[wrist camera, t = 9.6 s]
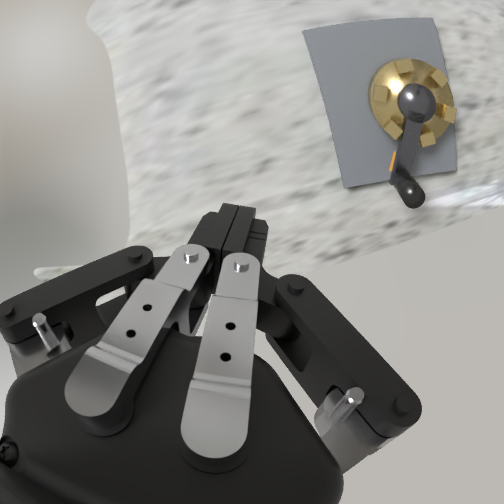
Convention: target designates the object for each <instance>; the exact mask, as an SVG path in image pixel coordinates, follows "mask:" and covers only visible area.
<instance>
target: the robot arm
mask: <svg viewBox="0 0 504 504" xmlns="http://www.w3.org/2000/svg"><path fill="white" fill-rule="evenodd" d="M255 213H256V208H252V207H246V206H240V207H239V205H233V204H227V203H223V204H222V206H221V208H220V210H219V212H218V213H217V212H209V213H207V214H206V215H204V216H203V217H202V219H201V221H200V222H199V224H198V226H197V228H196V229H195V231H194V233H193V235H192V236H191V238H190V240H189V242H188V244H186V245H182V246H180V247H178V248H177V249H176V250H175V251H174V252H173V254H172V255H171V256H169V257H153V253H152V251H151V250H150V249H149V248H147V247H145V246H131V247H128V248H125V249H123V250H121V251H118V252H116V253H113V254H111V255H108V256H106V257H103V258H101V259H98V260H96V261H94V262H91V263H89V264H87V265H84V266H82V267H79V268H77V269H75V270H72V271H70V272H68V273H65V274H63V275H61V276H58V277H56V278H54V279H52V280H49V281H47V282H45V283H43V284H40V285H38V286H36V287H34V288H32V289H29V290H27V291H25V292H23V293H21V294H19V295H16V296H14V297H12V298H10V299H8V300H6V301H4V302H3V303H1V304H0V332H1V334H2V335H3V338H4V340H5V341H6V343H7V344H8V345H9V348H10V352H11V356H12V360H13V364H14V368H15V371H16V374H17V379H16V380H15V381H14V383H13V384H12V386H11V387H10V389H9V391H8V394H7V397H6V404H5V422H4V428H3V434H2V437H1V439H0V504H338V503H339V501H340V499H341V496H342V493H343V485H344V481H343V474H344V473H345V472H346V471H348V470H349V469H350V468H352V467H353V466H355V465H356V464H357V463H359V462H360V461H361V460H363V459H364V458H365V457H366V456H368V455H371V454H373V453H375V452H376V451H378V450H379V449H381V448H382V447H383V446H385V445H386V444H388V443H389V442H390V441H392V440H393V439H395V438H396V437H398V436H399V435H400V434H402V433H403V432H404V431H406V430H407V429H408V428H410V427H411V426H412V425H413V424H415V423H416V422H417V421H418V420H419V418H420V416H421V412H422V405H421V402H420V399H419V398H418V396H417V395H416V393H415V392H414V391H413V390H412V389H411V388H410V387H409V386H408V385H407V384H406V383H405V381H404V380H403V379H402V378H401V377H400V376H399V375H398V374H397V373H396V372H395V371H394V370H393V368H392V367H391V366H390V365H389V364H388V363H387V362H386V361H385V360H384V359H383V357H382V356H381V355H380V354H379V353H378V352H377V351H376V350H375V349H374V348H373V347H372V346H371V345H370V344H369V342H368V341H367V340H366V339H365V338H364V337H363V336H362V335H361V334H360V333H359V332H358V331H357V330H356V329H355V328H354V326H353V325H352V324H351V323H350V322H349V321H348V320H347V319H346V318H345V317H344V316H343V315H342V314H341V313H340V312H339V311H338V310H337V308H335V306H334V305H333V304H332V303H331V302H330V301H329V300H328V299H327V298H326V297H325V296H324V295H323V294H322V293H321V292H320V291H319V290H318V289H317V288H316V287H315V286H314V285H313V284H312V282H311V281H309V280H308V279H307V278H305V277H303V276H300V275H295V274H288V275H284V276H282V277H280V278H279V279H278V278H275V277H273V276H271V275H270V274H268V273H267V272H266V271H265V270H264V268H263V267H262V263H263V258H264V252H265V246H266V240H267V234H268V228H269V227H268V225H267V223H266V221H265V220H260V219H255ZM123 286H124V288H125V294H123V295H121V296H119V297H116V298H114V299H112V300H110V301H108V302H106V303H103V304H101V305H99V306H96V301H97V300H98V299H99V298H100V297H101V296H103V295H105V294H108V293H110V292H112V291H114V290H116V289H119V288H121V287H123ZM211 294H215V295H212V298H211V302H210V306H209V311H208V315H207V319H206V323H205V328H204V332H203V336H202V337H201V336H200V337H199V336H195V335H196V333H197V331H198V328H199V326H200V324H201V322H202V320H203V318H204V315H205V313H206V311H207V309H208V301H209V299H210V297H211ZM256 329H258V330H261V331H263V332H265V333H266V334H265V335H266V339H267V341H268V342H269V343H270V345H271V346H272V348H273V349H274V350H275V352H276V353H277V354H278V355H279V357H280V359H281V360H282V361H283V363H284V364H285V365H286V367H287V368H288V369H289V371H290V372H291V373H292V375H293V376H294V377H295V379H296V380H297V381H298V383H299V384H300V385H301V387H302V388H303V389H304V391H305V392H306V393H307V395H308V396H309V397H310V399H311V400H312V401H313V403H314V404H315V405H316V406H317V408H318V409H317V411H316V413H315V416H314V423H315V426H316V428H317V430H318V432H319V434H320V436H319V435H318V433H317V432H316V431H315V429H314V428H313V426H312V425H311V423H310V422H309V421H308V419H307V418H306V416H305V415H304V413H303V412H302V410H301V409H300V407H299V406H298V404H297V403H296V402H295V400H294V399H293V397H292V396H291V394H290V393H289V391H288V390H287V388H286V387H285V385H284V384H283V382H282V381H281V379H280V378H279V376H278V375H277V373H276V372H275V370H274V369H273V368H272V367H271V366H270V365H269V364H268V363H267V362H266V361H264V360H263V359H262V358H260V357H259V356H257V355H255V354H254V344H255V331H256Z"/></svg>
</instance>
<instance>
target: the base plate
mask: <svg viewBox="0 0 504 504" xmlns="http://www.w3.org/2000/svg"><path fill="white" fill-rule="evenodd" d="M302 33H303V35H304V38H305V41H306V44H307V47H308V50H309V54H310V57H311V60H312V63H313V66H314V69H315V73H316V76H317V80H318V83H319V86H320V90H321V93H322V97H323V101H324V104H325V108H326V112H327V116H328V120H329V124H330V128H331V132H332V136H333V140H334V145H335V149H336V153H337V158H338V162H339V167H340V172H341V177H342V182H343V186H344V188H348V187H354V186H359V185H365V184H371V183H376V182H382V181H388V180H390V176H391V172H392V168H393V164H394V160H395V156H396V152H397V147H398V143H399V141H398V140H395V139H394V138H393V137H391V136H390V135H389V134H388V133H387V132H386V131H385V130H384V129H383V128H382V127H381V126H380V125H379V124H378V123H377V122H376V120H375V119H374V117H373V115H372V113H371V111H370V107H369V103H368V87H369V83H370V80H371V78H372V76H373V74H374V73H375V71H376V70H377V69H378V68H379V67H380V66H382V65H383V64H384V63H386V62H388V61H391V60H394V59H405V58H410V59H417V60H421V61H424V62H426V63H428V64H430V65H431V66H433V67H434V68H439V69H440V70H441V71H442V73H443V74H444V75H445V76H446V77H447V74H446V69H445V64H444V59H443V55H442V51H441V46H440V42H439V38H438V35H437V31H436V27H435V24H434V20H433V18H396V19H380V20H369V21H360V22H351V23H344V24H337V25H331V26H325V27H319V28H314V29H309V30H304V31H302ZM447 83H448V82H447ZM435 142H436V144H433V145H429V146H426V147H421V146H420V145H418V147H417V151H416V155H415V159H414V163H413V167H412V170H411V174H410V175H411V176H412V177H413V176H420V175H427V174H433V173H440V172H448V171H455V170H457V166H456V146H455V133H454V123H451V122H450V124H449V126H448V127H447V129H446V130H445V132H444V133H443V134H442V135H441V136H440V137H439V138H437V139H436V140H435Z"/></svg>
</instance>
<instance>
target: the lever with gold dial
mask: <svg viewBox="0 0 504 504" xmlns="http://www.w3.org/2000/svg"><path fill="white" fill-rule="evenodd" d="M448 81H449V79H448V78H447V77H446V76H445V75H444V74H443V73H442V71H441V70H440V69H439V68H434V67H433V66H431V65H430V64H428V63H426V62H424V61H421V60H417V59H410V58H405V59H394V60H391V61H388V62H386V63H384V64H383V65H382V66H380V67H379V68H378V69H377V70H376V71H375V73H374V74H373V76H372V78H371V80H370V83H369V87H368V103H369V107H370V111H371V113H372V115H373V117H374V119H375V120H376V122H377V123H378V124H379V125H380V126H381V127H382V128H383V129H384V130H385V131H386V132H387V133H388V134H389V135H390V136H391V137H393V138H394V139H395V140H398V141H399V143H398V147H397V152H396V156H395V160H394V164H393V168H392V172H391V176H390V180H389V182H390V184H391V185H394V187H395V188H396V190H397V192H398V193H399V195H400V196H401V198H402V200H403V201H404V203H405V205H406V206H407V207H409V208H412V209H414V208H418V207H420V206H421V205H422V204H423V202H424V200H425V193H424V191H423V190H422V188H421V187H420V186H419V185H418V183H417V182H416V181H415V180H414V178H413V177H412V176H411V175H410V174H411V170H412V167H413V163H414V159H415V155H416V151H417V147H418V145H420V146H421V147H426V146H429V145H433V144H436V142H435V140H436V139H437V138H439V137H440V136H441V135H442V134H443V133H444V132H445V130H446V129H447V127H448V126H449V124H450V122H451V123H454V121H455V117H456V112H457V109H456V108H453V97H452V92H451V90H450V87H449V85H448V83H447V82H448Z"/></svg>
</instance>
